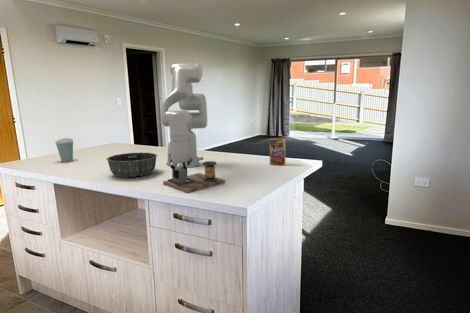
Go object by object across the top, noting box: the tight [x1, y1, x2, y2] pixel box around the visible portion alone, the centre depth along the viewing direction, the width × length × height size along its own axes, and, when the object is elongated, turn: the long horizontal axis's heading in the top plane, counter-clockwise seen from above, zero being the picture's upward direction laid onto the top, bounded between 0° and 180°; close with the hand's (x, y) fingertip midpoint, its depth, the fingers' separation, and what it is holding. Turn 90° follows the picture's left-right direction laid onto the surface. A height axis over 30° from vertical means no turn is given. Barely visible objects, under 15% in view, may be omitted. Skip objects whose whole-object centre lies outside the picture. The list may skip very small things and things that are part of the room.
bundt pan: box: [106, 151, 158, 178], centre depth 177 cm, size 26×26×10 cm
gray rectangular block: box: [171, 166, 186, 183], centre depth 153 cm, size 4×6×6 cm, turn 43°
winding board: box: [162, 160, 226, 194], centre depth 154 cm, size 22×20×10 cm
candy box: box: [269, 138, 287, 166], centre depth 190 cm, size 9×4×15 cm, turn 71°
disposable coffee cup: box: [54, 137, 74, 163], centre depth 214 cm, size 11×11×15 cm
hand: (180, 176), depth 153 cm, fingers open, 4 cm apart
